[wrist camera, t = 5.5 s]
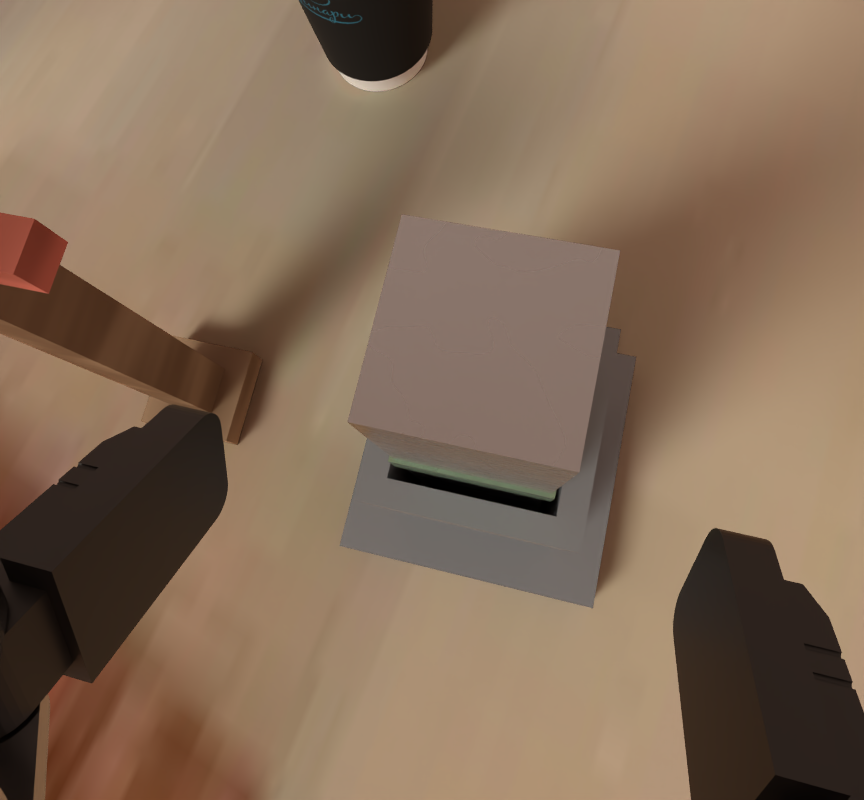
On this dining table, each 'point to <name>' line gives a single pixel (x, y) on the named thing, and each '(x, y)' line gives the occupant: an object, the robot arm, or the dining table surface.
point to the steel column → (485, 359)
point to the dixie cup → (373, 38)
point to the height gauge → (113, 333)
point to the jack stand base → (503, 510)
